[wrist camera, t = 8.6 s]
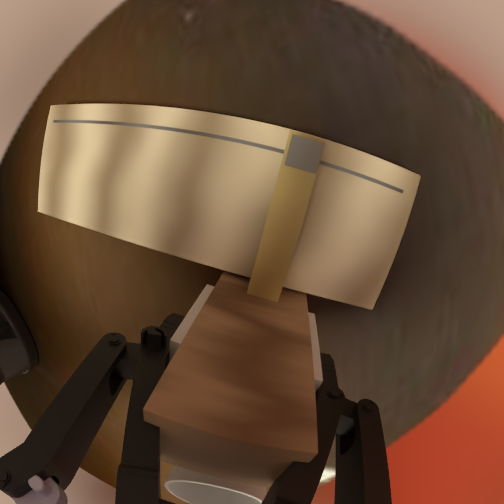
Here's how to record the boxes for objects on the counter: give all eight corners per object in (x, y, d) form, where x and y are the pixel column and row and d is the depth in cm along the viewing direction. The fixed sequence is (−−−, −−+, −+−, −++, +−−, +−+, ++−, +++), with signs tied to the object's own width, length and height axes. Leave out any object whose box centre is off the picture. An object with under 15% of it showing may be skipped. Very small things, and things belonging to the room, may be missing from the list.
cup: (274, 374, 23) (260, 489, 12) (279, 422, 26) (269, 515, 14) (193, 372, 25) (148, 470, 13) (210, 419, 27) (182, 504, 16)
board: (51, 207, 21) (37, 211, 19) (65, 107, 18) (50, 105, 16) (365, 297, 20) (372, 310, 18) (408, 174, 17) (420, 175, 15)
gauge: (218, 308, 22) (147, 454, 9) (260, 130, 17) (191, 44, 4) (289, 327, 22) (280, 489, 8) (345, 154, 17) (473, 135, 4)
